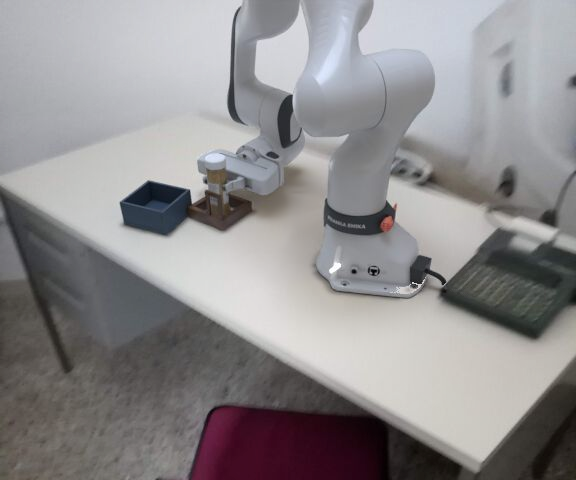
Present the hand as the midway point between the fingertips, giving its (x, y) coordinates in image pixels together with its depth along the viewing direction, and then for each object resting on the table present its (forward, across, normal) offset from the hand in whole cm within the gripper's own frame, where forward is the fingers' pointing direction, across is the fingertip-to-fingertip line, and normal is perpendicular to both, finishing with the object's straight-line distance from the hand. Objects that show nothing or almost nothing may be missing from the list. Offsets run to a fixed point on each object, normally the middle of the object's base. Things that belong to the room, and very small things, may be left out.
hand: (215, 184), depth 130 cm
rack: (-1, 0, +8) cm, 8 cm away
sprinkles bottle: (-1, 0, +8) cm, 8 cm away
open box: (+8, -10, +8) cm, 15 cm away
